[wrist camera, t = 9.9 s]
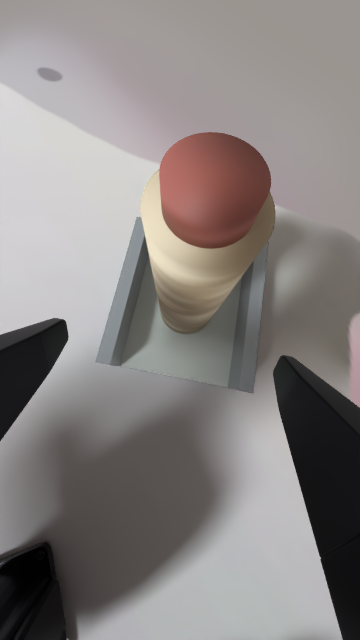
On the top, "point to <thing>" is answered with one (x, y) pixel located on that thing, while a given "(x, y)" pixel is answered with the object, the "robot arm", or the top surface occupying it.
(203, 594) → the top surface
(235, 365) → the tray
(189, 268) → the red-capped cream cylinder
